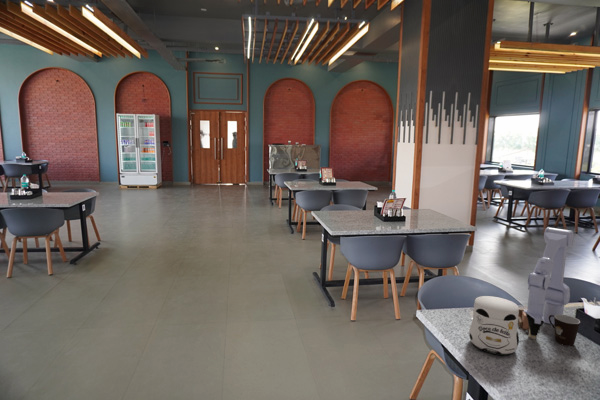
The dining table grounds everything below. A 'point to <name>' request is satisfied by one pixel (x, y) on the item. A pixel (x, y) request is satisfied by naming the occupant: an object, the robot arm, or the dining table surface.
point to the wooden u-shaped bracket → (520, 318)
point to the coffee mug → (565, 329)
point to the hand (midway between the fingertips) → (532, 333)
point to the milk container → (495, 325)
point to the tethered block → (526, 325)
